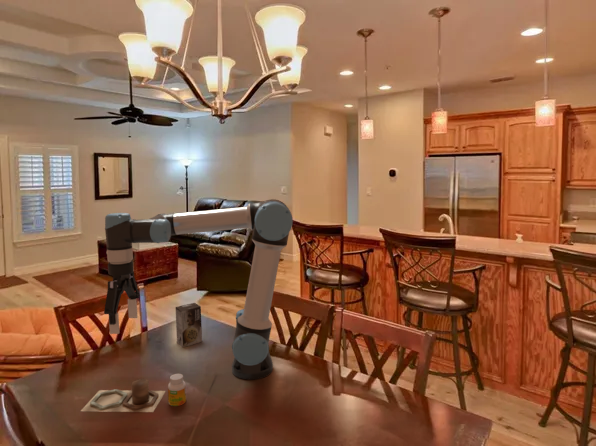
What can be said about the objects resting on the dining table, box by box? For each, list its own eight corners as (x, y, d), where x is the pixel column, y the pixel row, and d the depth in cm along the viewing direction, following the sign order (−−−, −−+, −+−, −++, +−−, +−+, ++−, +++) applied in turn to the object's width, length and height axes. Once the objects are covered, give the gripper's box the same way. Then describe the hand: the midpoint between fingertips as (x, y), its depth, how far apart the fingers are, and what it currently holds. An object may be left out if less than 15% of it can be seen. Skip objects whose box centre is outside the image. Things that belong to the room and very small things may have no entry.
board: (166, 395, 137) (165, 388, 136) (153, 416, 125) (153, 409, 124) (99, 394, 137) (99, 387, 136) (80, 415, 125) (80, 408, 124)
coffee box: (195, 337, 184) (194, 302, 182) (202, 342, 179) (201, 306, 177) (176, 342, 178) (175, 306, 176) (182, 347, 173) (181, 310, 171)
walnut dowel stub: (151, 396, 133) (150, 378, 132) (145, 405, 128) (145, 387, 127) (136, 396, 133) (135, 378, 132) (129, 405, 128) (128, 386, 127)
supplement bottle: (168, 411, 127) (167, 382, 126) (168, 402, 132) (167, 373, 131) (186, 409, 129) (185, 379, 127) (186, 399, 134) (185, 371, 133)
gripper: (125, 253, 145) (129, 312, 147) (88, 271, 120) (93, 340, 123) (147, 253, 144) (150, 312, 147) (113, 271, 120) (118, 341, 122)
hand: (124, 325), depth 135 cm, fingers open, 13 cm apart
